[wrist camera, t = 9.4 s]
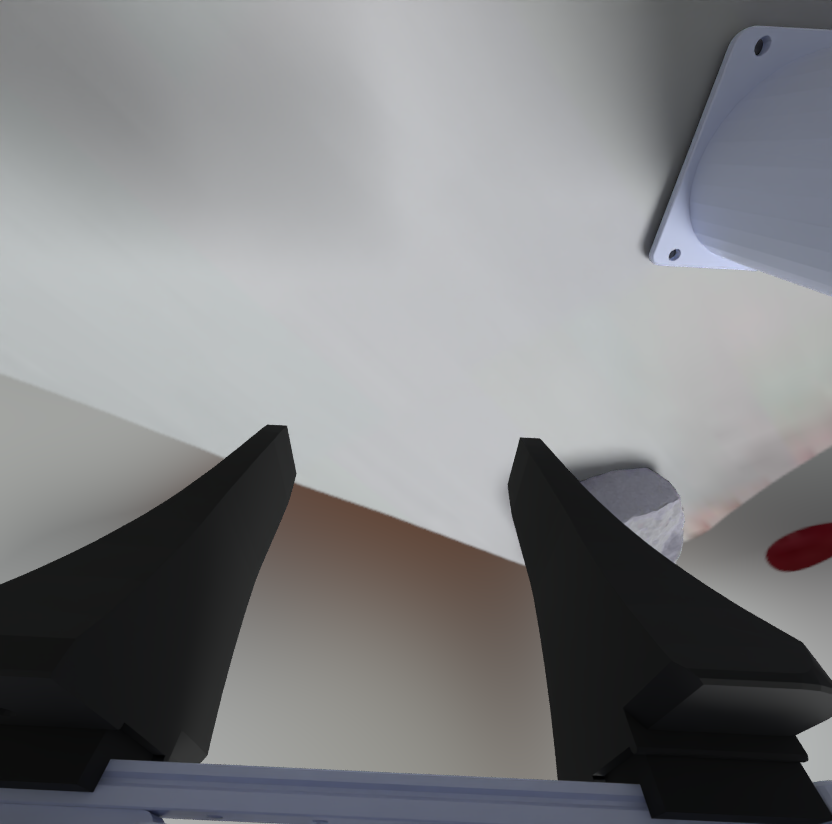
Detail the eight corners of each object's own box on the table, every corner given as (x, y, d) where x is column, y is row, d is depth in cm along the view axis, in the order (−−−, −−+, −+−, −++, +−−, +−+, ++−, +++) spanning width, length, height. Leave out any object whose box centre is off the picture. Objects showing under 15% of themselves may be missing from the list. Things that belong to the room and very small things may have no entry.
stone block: (648, 439, 27) (519, 491, 27) (702, 486, 23) (549, 546, 23) (647, 532, 33) (543, 572, 34) (689, 581, 29) (571, 625, 30)
